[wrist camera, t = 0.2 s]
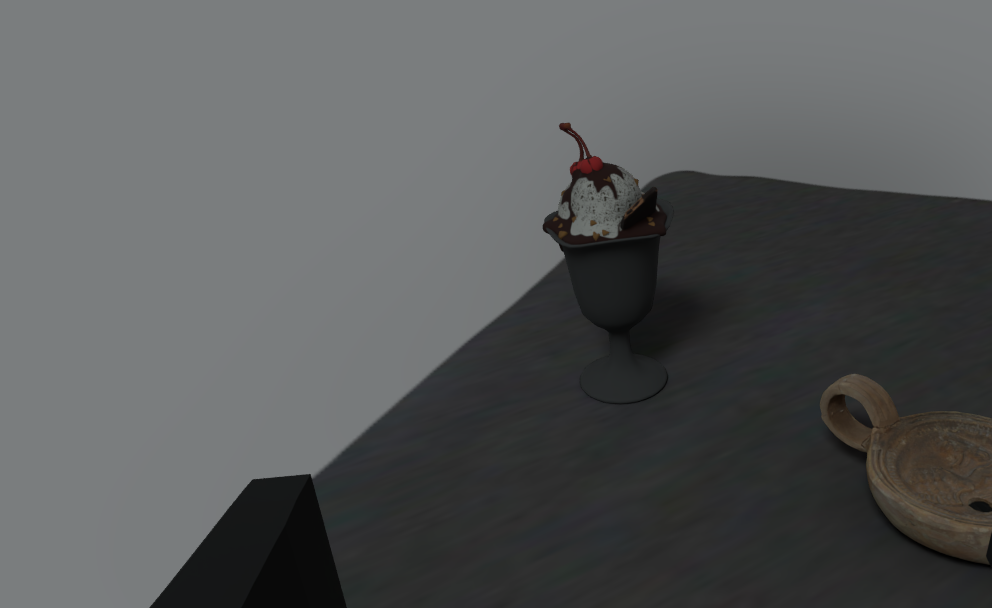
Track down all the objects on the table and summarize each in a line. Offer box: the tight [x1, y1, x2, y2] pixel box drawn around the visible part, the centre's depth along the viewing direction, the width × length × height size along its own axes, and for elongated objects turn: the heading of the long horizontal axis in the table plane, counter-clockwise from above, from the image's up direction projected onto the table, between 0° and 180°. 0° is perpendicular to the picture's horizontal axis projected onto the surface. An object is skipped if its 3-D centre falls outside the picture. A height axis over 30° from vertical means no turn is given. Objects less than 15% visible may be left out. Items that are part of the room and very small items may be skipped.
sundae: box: [543, 123, 674, 404], centre depth 46 cm, size 7×7×15 cm
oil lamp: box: [820, 374, 992, 565], centre depth 36 cm, size 13×8×5 cm, turn 34°
